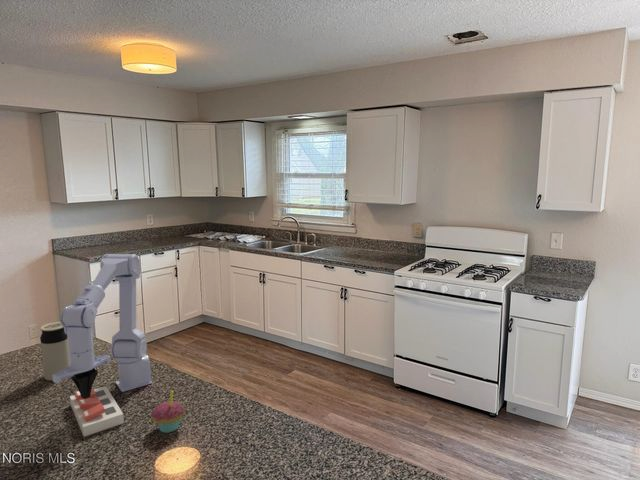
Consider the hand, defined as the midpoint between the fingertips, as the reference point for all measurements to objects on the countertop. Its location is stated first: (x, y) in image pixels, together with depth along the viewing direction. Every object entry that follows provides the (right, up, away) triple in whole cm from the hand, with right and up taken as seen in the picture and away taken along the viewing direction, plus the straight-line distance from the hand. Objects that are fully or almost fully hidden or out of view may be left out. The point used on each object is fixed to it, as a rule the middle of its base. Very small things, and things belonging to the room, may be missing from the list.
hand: (85, 397), depth 116 cm
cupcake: (+22, -9, +2) cm, 24 cm away
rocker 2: (+1, -5, +3) cm, 6 cm away
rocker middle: (-3, -4, +7) cm, 9 cm away
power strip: (-5, -7, +13) cm, 16 cm away
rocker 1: (-7, -4, +12) cm, 14 cm away
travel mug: (-27, -5, +32) cm, 42 cm away
